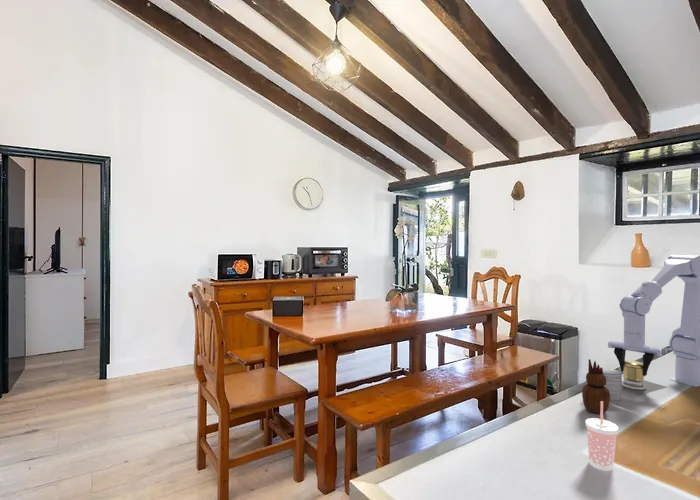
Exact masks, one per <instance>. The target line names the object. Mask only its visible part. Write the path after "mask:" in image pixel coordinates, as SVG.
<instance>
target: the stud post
mask: <svg viewBox="0 0 700 500" xmlns="http://www.w3.org/2000/svg"><path fill="white" fill-rule="evenodd" d="M622 387H624V388H627V389H631V390H637V391H644V390H646V389H647V387H646V385H644V381H633V380H629V379H626V378H624V377H623V380H622Z"/></svg>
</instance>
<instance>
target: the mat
mask: <svg viewBox="0 0 700 500" xmlns="http://www.w3.org/2000/svg"><path fill="white" fill-rule="evenodd" d="M643 381H644V385H646V387H647V389H646V390H644V391H637V390H631V389H627V388H624V387H622V390H621V391H625V392H628V393H631V394H634V395H637V396H641V395H645V394H648V393H649V394H650V393H651V392H655V391H659V390H663V389H666V388H667V386H665V385H662V384H658V383H655V382H652V381H648V380H645V379H644V380H643Z"/></svg>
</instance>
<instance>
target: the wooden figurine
mask: <svg viewBox="0 0 700 500" xmlns="http://www.w3.org/2000/svg"><path fill="white" fill-rule="evenodd" d="M593 361H594V362H593V365H592V361H591V359H588V370H589V372H587V373H586V375H585V379H586V380H585V381H586V383H585V384H584V385H582V389H581V391H582V392H581V395H582V401H583V405H584V408H585V409H586V410H587V411H589V412H591V413H594V414H600V411H601V401H603V414H605V413H606V412H607V411H608V409H609V406H610V402H611V401H610V400H611V399H610V392H609V390H608V389H607V388H606V387H605V385H606V377H605V375H604V374H603V369H604V368H603V367H600V364H597V362H596V360H593Z"/></svg>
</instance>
